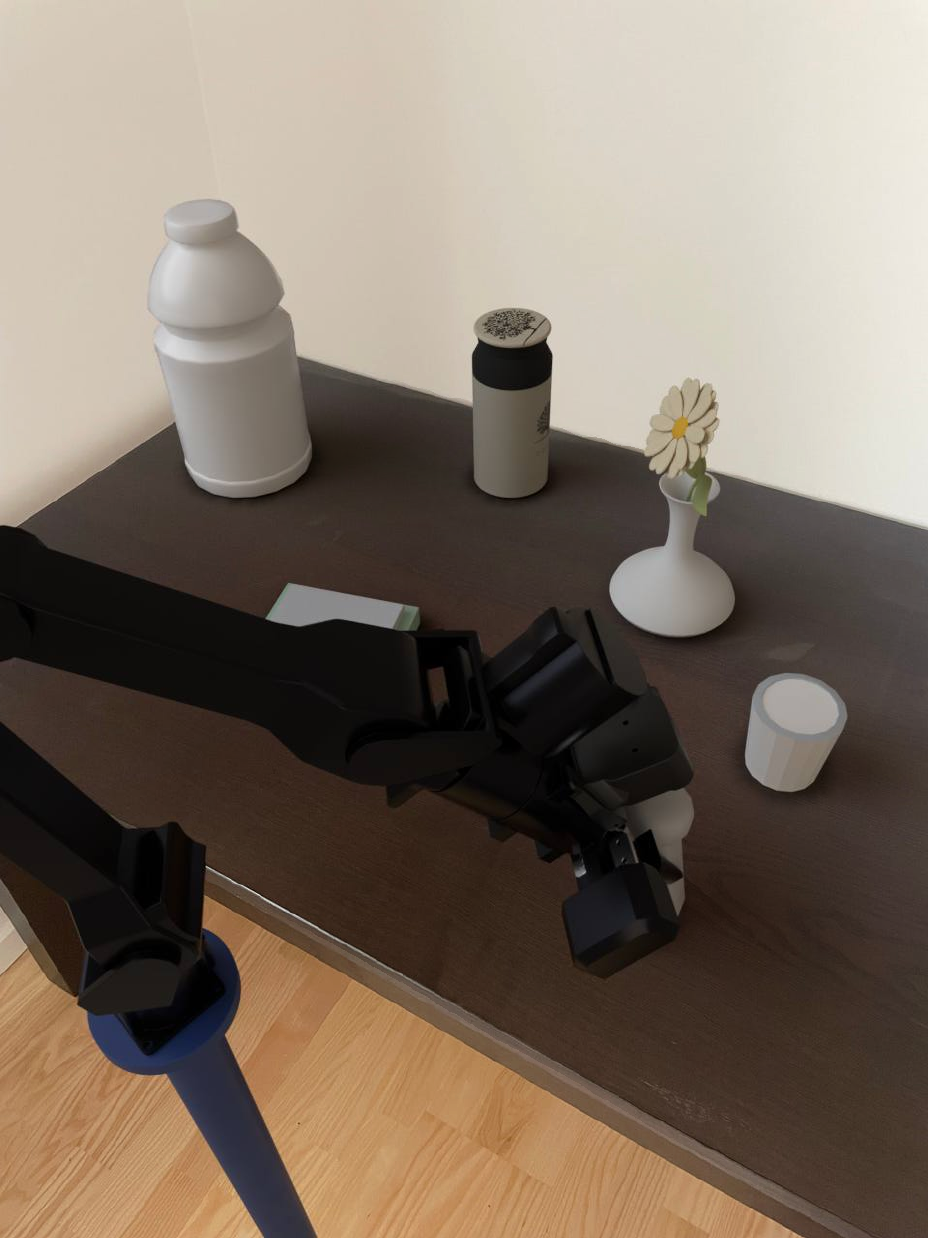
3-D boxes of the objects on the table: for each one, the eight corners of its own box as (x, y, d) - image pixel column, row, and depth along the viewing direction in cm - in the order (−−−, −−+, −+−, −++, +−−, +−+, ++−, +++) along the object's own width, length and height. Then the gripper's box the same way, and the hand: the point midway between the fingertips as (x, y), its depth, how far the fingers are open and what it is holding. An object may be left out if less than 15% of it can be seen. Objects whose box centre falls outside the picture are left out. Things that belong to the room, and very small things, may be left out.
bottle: (268, 415, 116) (223, 172, 97) (338, 463, 109) (304, 209, 89) (164, 463, 109) (93, 211, 90) (231, 517, 102) (170, 256, 82)
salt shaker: (684, 947, 66) (716, 840, 57) (600, 947, 66) (618, 840, 57) (672, 872, 70) (700, 761, 61) (593, 871, 70) (609, 761, 61)
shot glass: (828, 741, 79) (850, 683, 74) (822, 808, 74) (845, 751, 69) (742, 721, 80) (758, 663, 76) (731, 785, 76) (747, 728, 71)
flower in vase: (613, 559, 96) (640, 323, 78) (732, 572, 94) (785, 334, 76) (600, 652, 87) (626, 409, 69) (730, 670, 85) (791, 424, 67)
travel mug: (459, 484, 105) (454, 330, 93) (500, 449, 110) (500, 298, 97) (522, 509, 102) (525, 353, 89) (560, 472, 106) (569, 318, 94)
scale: (370, 730, 81) (366, 706, 79) (228, 699, 84) (221, 675, 81) (420, 622, 90) (418, 598, 88) (291, 597, 93) (286, 574, 91)
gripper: (664, 842, 45) (831, 929, 54) (575, 579, 58) (721, 682, 67) (495, 947, 50) (674, 1011, 59) (449, 681, 63) (600, 766, 72)
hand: (669, 854), depth 64 cm, fingers closed on salt shaker, 3 cm apart
